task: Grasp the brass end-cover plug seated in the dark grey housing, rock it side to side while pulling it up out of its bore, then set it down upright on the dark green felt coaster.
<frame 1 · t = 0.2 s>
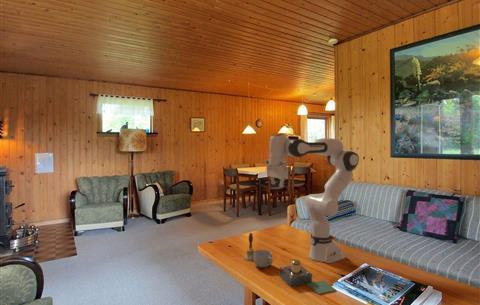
hand: (277, 185, 160), 47 cm above the table, fingers open, 8 cm apart
plug: (295, 270, 143), in the housing
hand bell: (250, 258, 171), on the table
coaster: (321, 287, 135), on the table
teacup: (264, 267, 159), on the table
housing: (295, 280, 143), on the table
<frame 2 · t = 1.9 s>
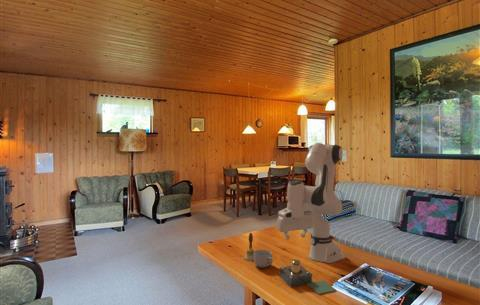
hand: (295, 238, 142), 22 cm above the table, fingers open, 8 cm apart
nothing on the table moved.
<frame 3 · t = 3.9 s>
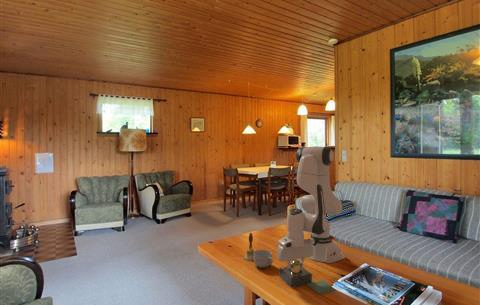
hand: (295, 266, 143), 7 cm above the table, fingers closed on plug, 5 cm apart
plug: (295, 270, 143), in the housing, touching gripper
everything else where it was.
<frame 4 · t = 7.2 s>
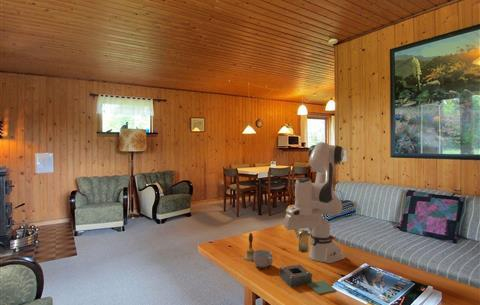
hand: (303, 236, 140), 24 cm above the table, fingers closed on plug, 5 cm apart
plug: (303, 241, 140), point 22 cm above the table, touching gripper
everything else where it was.
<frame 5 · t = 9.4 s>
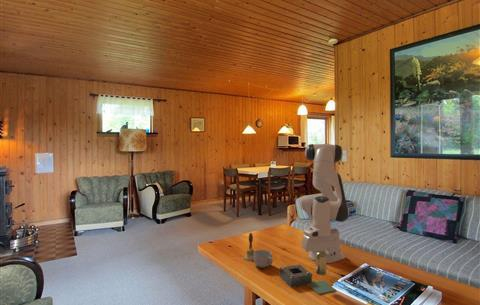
hand: (321, 257, 135), 15 cm above the table, fingers closed on plug, 5 cm apart
plug: (321, 262, 135), point 13 cm above the table, touching gripper
everything else where it was.
when the fingers open (9 cm above the table, at t = 10.9 s): plug stays where it is, resting on coaster.
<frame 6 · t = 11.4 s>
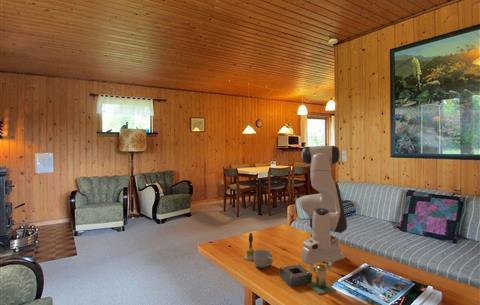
hand: (321, 269, 135), 9 cm above the table, fingers open, 8 cm apart
plug: (321, 276, 135), on the coaster, point 6 cm above the table
everything else where it was.
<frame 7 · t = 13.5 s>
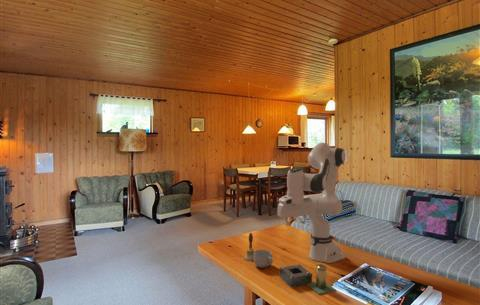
hand: (295, 224, 146), 29 cm above the table, fingers open, 8 cm apart
nothing on the table moved.
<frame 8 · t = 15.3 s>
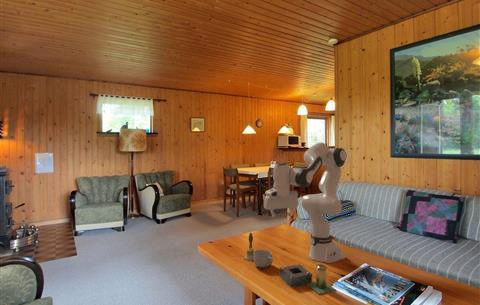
hand: (281, 216, 153), 31 cm above the table, fingers open, 8 cm apart
nothing on the table moved.
at the end: plug inside the target area on the coaster (0.1 cm from its centre), point 5.6 cm above the coaster's base; plug tilted 0°; the gripper is holding nothing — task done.
